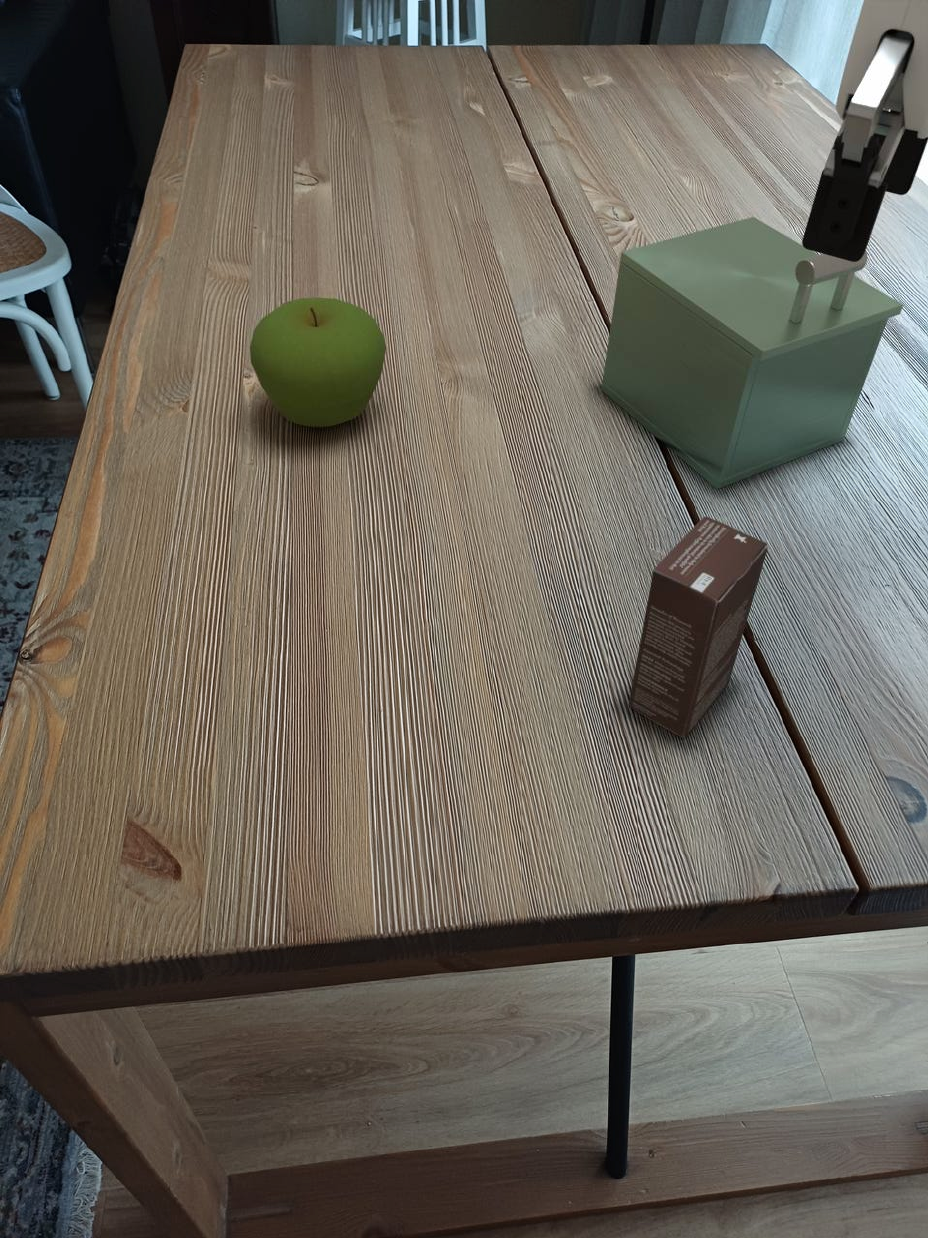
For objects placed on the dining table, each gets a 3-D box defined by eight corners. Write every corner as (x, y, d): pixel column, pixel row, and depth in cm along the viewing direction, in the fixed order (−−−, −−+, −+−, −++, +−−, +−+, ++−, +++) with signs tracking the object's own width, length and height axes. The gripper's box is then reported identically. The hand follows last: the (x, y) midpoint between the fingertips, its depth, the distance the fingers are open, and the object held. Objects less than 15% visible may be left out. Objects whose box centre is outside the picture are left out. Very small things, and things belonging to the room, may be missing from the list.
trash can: (843, 440, 81) (891, 310, 73) (716, 489, 76) (752, 356, 68) (721, 351, 90) (751, 226, 82) (601, 390, 85) (619, 261, 77)
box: (668, 651, 64) (705, 511, 56) (729, 684, 63) (777, 545, 54) (619, 706, 61) (650, 566, 52) (682, 743, 59) (725, 605, 51)
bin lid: (900, 314, 72) (927, 243, 68) (760, 361, 67) (780, 287, 63) (751, 225, 82) (767, 159, 78) (619, 260, 77) (629, 191, 73)
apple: (298, 470, 77) (284, 359, 70) (237, 407, 82) (218, 298, 75) (413, 425, 81) (411, 315, 74) (347, 367, 87) (339, 261, 80)
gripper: (1042, -128, 36) (883, 303, 48) (1104, -187, 46) (959, 181, 58) (840, -154, 38) (738, 262, 51) (941, -205, 48) (836, 152, 61)
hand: (857, 218), depth 54 cm, fingers open, 9 cm apart
